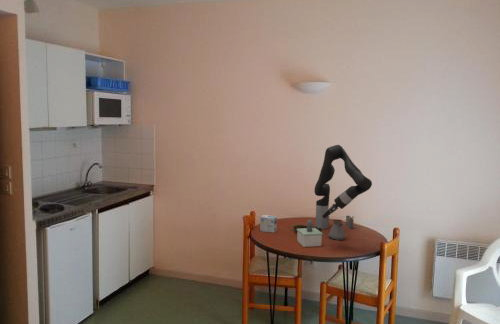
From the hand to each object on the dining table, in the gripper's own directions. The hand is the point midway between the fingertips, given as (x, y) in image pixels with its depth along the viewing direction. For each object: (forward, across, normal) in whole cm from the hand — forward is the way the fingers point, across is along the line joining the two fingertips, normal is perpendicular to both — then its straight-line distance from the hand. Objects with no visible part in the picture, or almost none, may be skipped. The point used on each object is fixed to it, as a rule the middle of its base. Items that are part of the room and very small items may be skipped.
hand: (324, 215), depth 251 cm
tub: (+21, 0, +8) cm, 22 cm away
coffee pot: (+10, -15, +20) cm, 26 cm away
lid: (+16, 0, +3) cm, 16 cm away
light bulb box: (+45, -18, -16) cm, 51 cm away
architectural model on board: (+8, -54, +21) cm, 58 cm away
